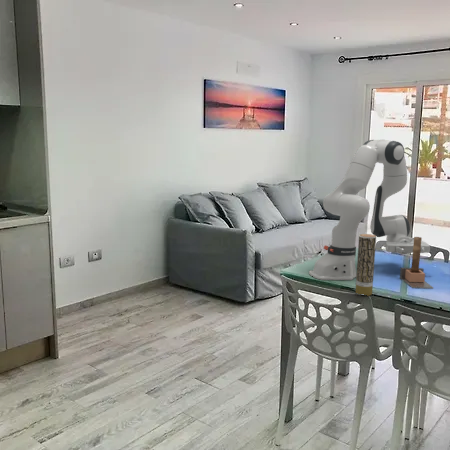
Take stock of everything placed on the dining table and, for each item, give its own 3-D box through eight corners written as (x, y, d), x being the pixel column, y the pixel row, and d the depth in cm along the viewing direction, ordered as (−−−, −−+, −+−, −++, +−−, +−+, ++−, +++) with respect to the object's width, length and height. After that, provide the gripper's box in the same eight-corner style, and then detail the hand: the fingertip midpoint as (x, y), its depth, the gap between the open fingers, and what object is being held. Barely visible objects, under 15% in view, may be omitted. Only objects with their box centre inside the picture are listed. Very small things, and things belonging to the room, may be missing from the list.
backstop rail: (434, 288, 221) (435, 277, 220) (411, 288, 221) (412, 276, 221) (421, 278, 237) (422, 268, 236) (399, 278, 237) (400, 267, 236)
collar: (424, 282, 228) (425, 273, 228) (409, 281, 228) (410, 273, 228) (419, 278, 235) (419, 270, 234) (404, 278, 235) (405, 269, 234)
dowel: (413, 281, 230) (416, 238, 227) (408, 279, 233) (412, 236, 230) (419, 280, 231) (423, 238, 228) (415, 279, 234) (418, 236, 231)
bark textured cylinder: (372, 297, 207) (376, 237, 203) (355, 295, 209) (359, 236, 205) (371, 292, 214) (375, 234, 210) (354, 291, 215) (358, 233, 211)
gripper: (382, 238, 248) (390, 244, 235) (424, 239, 248) (434, 244, 234) (381, 250, 249) (389, 257, 236) (422, 251, 249) (433, 258, 235)
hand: (412, 251), depth 235 cm, fingers open, 8 cm apart
